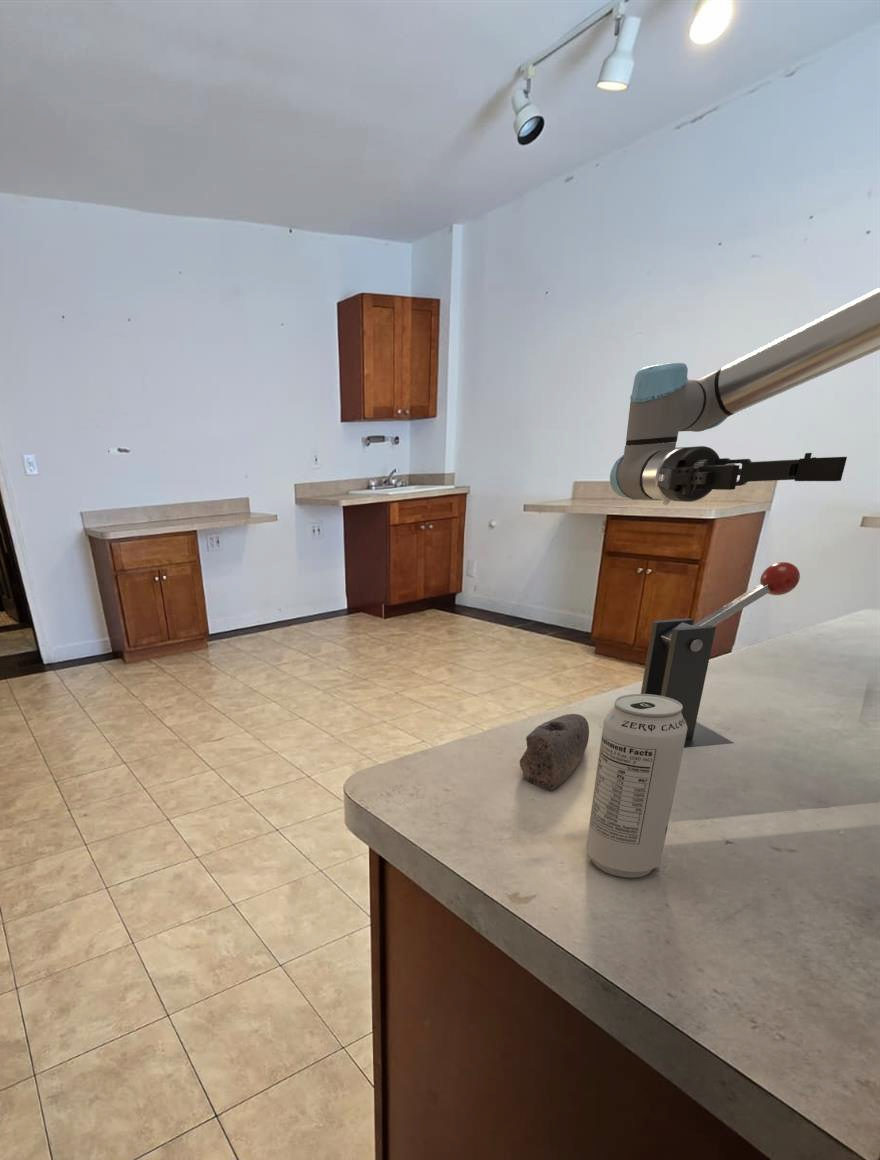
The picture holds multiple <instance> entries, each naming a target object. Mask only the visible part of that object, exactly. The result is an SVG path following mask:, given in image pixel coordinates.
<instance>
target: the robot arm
mask: <svg viewBox="0 0 880 1160" xmlns="http://www.w3.org/2000/svg"><path fill="white" fill-rule="evenodd" d="M878 351H880V287H878V288H876V289H873V290H872V291H870V292H867V293H866V294H863V295H862V296H860V297H858V298H856V299H853V300H852V301H850V302H848V303H846V304H844V305H842V306H840V307H838V308H836V309H834V310H832V311H831V312H828V313H827V314H824V315H823V316H820V317H819V318H817V319H815V320H812V321H811V322H809V323H807V324H805V325H803V326H801V327H799V328H797V329H795V330H793V331H791V332H789V333H787V334H785V335H783V336H781V337H779V338H777V339H775V340H773V341H771V342H769V343H767V344H766V345H763V346H761V347H760V348H757V349H756V350H753V351H751V352H750V353H747V354H746V355H744V356H742V357H740V358H738V359H736V360H734V361H732V362H730V363H728V364H726V365H724V366H723V367H721V368H719V369H716V370H715V371H713V372H711V373H708V374H707V375H705V376H702V377H700V378H698V379H689V377H688V370H689V368H688V366H687V364H686V363H684V362H671V363H668V362H667V363H661V364H655V365H650V366H646V367H642V368H641V369H638V371H637V372H636V374H635V376H634V380H633V384H632V390H631V395H630V397H629V399H630V401H629V410H628V419H627V420H628V421H627V428H626V438H625V446H624V450H623V454H622V455H621V456H620V457H619V458H617V459H616V461H615V462H614V464H613V466H612V468H611V469H610V473H609V483H610V487H611V489H612V490H613V492H614V493H615V494H616V495H618V496H619V497H621V498H627V499H631V500H633V501H636V500H637V501H638V500H640V501H641V500H642V501H643V500H644V501H645V500H646V501H662V504H663V505H665V506H666V505H669V504H670V502H671V501H673V502H683V503H684V502H689V503H693V502H696V501H699V500H702V499H703V498H705V497H706V496H708V495H709V494H710V493H711V492H712V491H713V490H715V491H716V490H717V491H718V490H720V491H722V490H723V491H725V490H726V491H730V490H732V491H733V490H735V489H736V488H737V487H740V486H741V487H742V486H745V485H746V484H747V483H749V482H770V481H771V482H772V481H794V482H841V481H842V478H843V475H844V472H845V471H844V470H845V467H846V462H847V459H848V458H847V457H848V456H832V457H831V456H828V457H817V456H814V457H812V452H805V453H804V457H803V458H798V459H779V460H760V461H752V460H751V459H750V458H738V459H730V458H729V457H723V458H720V456H719V454H718V452H717V451H716V450H714V449H713V448H711V447H708V446H703V445H698V446H680V447H679V446H678V447H677V442H678V438H679V437H678V436H679V432H694V433H697V432H698V433H699V432H703V431H706V430H710V429H714V428H716V427H718V426H720V425H721V424H722V423H723V422H725V420H726V419H728V418H729V417H730V416H733V415H734V414H737V413H739V412H741V411H743V410H746V409H748V408H750V407H753V406H755V405H757V404H759V403H763V402H765V401H766V400H769V399H771V398H773V397H775V396H777V395H780V394H782V393H784V392H787V391H788V390H791V389H793V388H796V387H798V386H800V385H803V384H805V383H807V382H809V381H810V382H811V380H814V379H817V378H819V377H821V376H823V375H825V374H828V373H830V372H832V371H835V370H837V369H839V368H841V367H843V366H846V365H848V364H851V363H853V362H855V361H857V360H859V359H862V358H864V357H867V356H869V355H871V354H873V353H875V352H878ZM738 464H739V465H738ZM740 465H741V467H740ZM738 476H739V479H738Z"/></svg>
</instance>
